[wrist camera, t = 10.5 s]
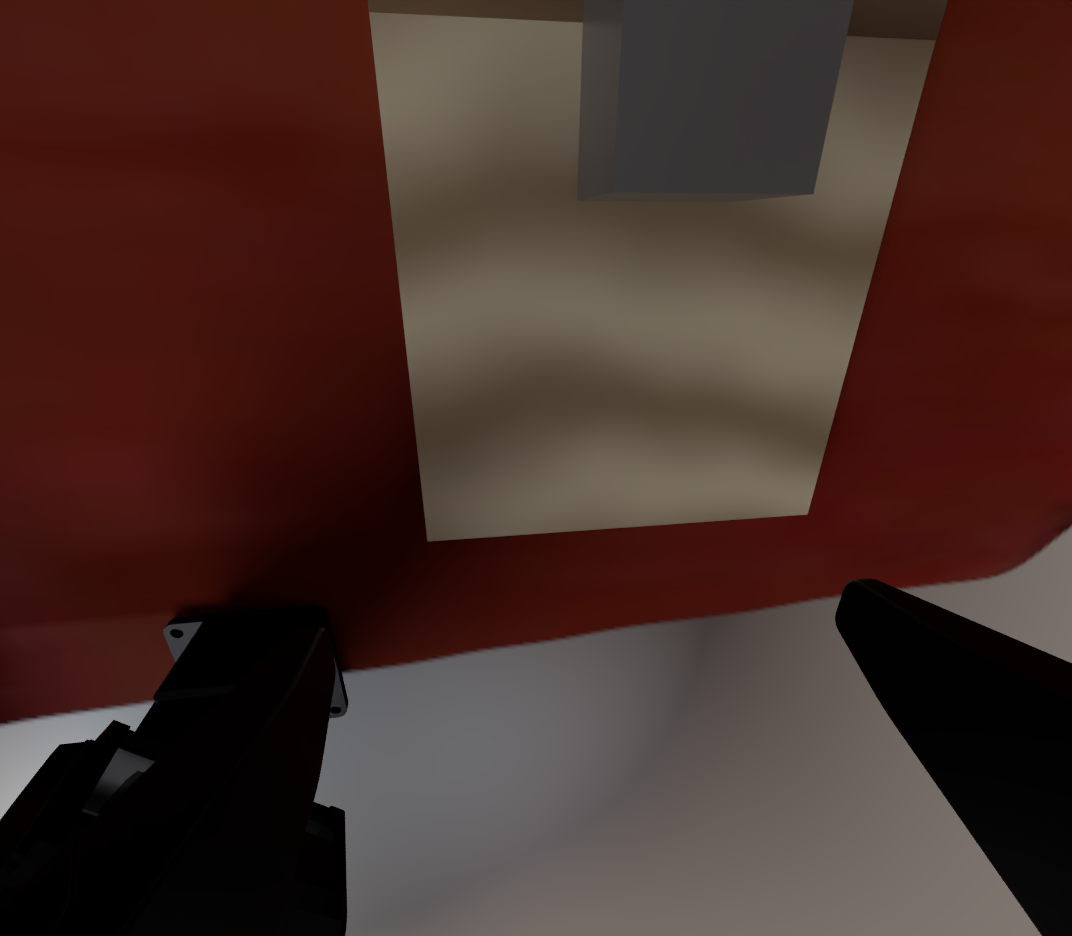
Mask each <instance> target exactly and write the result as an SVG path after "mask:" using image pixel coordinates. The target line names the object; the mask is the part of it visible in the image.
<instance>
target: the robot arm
mask: <svg viewBox="0 0 1072 936" xmlns="http://www.w3.org/2000/svg"><path fill="white" fill-rule="evenodd" d="M311 617H317V618H319V619H318V620H316V619H313V618H311ZM835 621H836V626H837V628H838V630H839V632H840V634H841V636H842V638H843V639H844V641H845V643H846V644H847V646H848V648H849V650H850V651H851V653H852V655H853V657H854V658H855V660H856V662H857V664H858V665H859V667H860V669H861V671H862V672H863V674H864V675H865V677H866V679H867V681H868V683H869V684H870V686H871V688H872V690H873V691H874V693H875V695H876V697H877V698H878V700H879V701H880V703H881V705H882V706H883V708H884V709H885V711H886V713H887V714H888V716H889V717H890V718H891V720H892V721H893V723H894V725H895V726H896V727H897V729H898V730H899V732H900V733H901V735H902V736H903V737H904V739H905V740H906V742H907V743H908V745H909V746H910V747H911V749H912V750H913V752H914V753H915V754H916V756H917V757H918V759H919V760H920V762H921V763H922V765H923V766H924V767H925V769H926V770H927V772H928V773H929V775H930V776H931V778H932V779H933V780H934V782H935V783H936V785H937V786H938V788H939V789H940V790H941V792H942V793H943V795H944V796H945V797H946V799H947V800H948V802H949V803H950V805H951V806H952V807H953V809H954V810H955V812H956V813H957V815H958V816H959V818H960V819H961V820H962V822H963V823H964V825H965V826H966V828H967V829H968V830H969V832H970V833H971V835H972V836H973V838H974V839H975V841H976V842H977V843H978V845H979V846H980V847H981V849H982V851H983V852H984V853H985V855H986V856H987V858H988V859H989V861H990V862H991V863H992V865H993V866H994V868H995V869H996V871H997V872H998V873H999V875H1000V876H1001V878H1002V879H1003V881H1004V882H1005V883H1006V885H1007V886H1008V888H1009V889H1010V891H1011V892H1012V894H1013V895H1014V896H1015V898H1016V899H1017V901H1018V902H1019V904H1020V905H1021V906H1022V908H1023V909H1024V911H1025V912H1026V913H1027V915H1028V916H1029V918H1030V919H1031V921H1032V922H1033V923H1034V925H1035V926H1036V928H1037V929H1038V931H1039V932H1040V934H1041V935H1042V936H1072V663H1069V662H1067V661H1065V660H1063V659H1060V658H1058V657H1056V656H1053V655H1051V654H1048V653H1046V652H1044V651H1041V650H1039V649H1037V648H1035V647H1032V646H1030V645H1028V644H1025V643H1023V642H1020V641H1018V640H1016V639H1013V638H1011V637H1009V636H1007V635H1004V634H1002V633H1000V632H997V631H995V630H992V629H990V628H988V627H985V626H983V625H981V624H978V623H976V622H974V621H971V620H969V619H967V618H964V617H962V616H960V615H957V614H955V613H953V612H950V611H948V610H946V609H943V608H941V607H939V606H936V605H934V604H932V603H929V602H927V601H925V600H922V599H920V598H918V597H915V596H913V595H910V594H908V593H906V592H904V591H901V590H899V589H897V588H894V587H892V586H890V585H887V584H885V583H883V582H880V581H878V580H875V579H857V580H851V581H849V582H848V583H847V584H846V585H845V587H844V590H843V593H842V596H841V599H840V602H839V605H838V608H837V611H836V615H835ZM177 629H179V630H181V631H179V630H177ZM163 632H164V636H165V639H166V641H167V643H168V646H169V648H170V651H171V653H172V655H173V658H174V660H175V662H176V663H175V664H174V666H173V667H172V669H171V670H170V672H169V673H168V675H167V676H166V678H165V679H164V681H163V682H162V684H161V685H160V687H159V688H158V690H157V691H156V693H155V694H154V697H153V699H154V701H155V702H154V703H153V705H152V707H151V708H150V710H149V711H148V713H147V714H146V716H145V718H144V719H143V720H142V722H141V723H140V725H139V727H138V728H137V730H136V731H135V732H134V731H132V730H129V729H130V726H128V725H126V724H123V723H120V722H118V721H115V720H113V721H112V722H111V724H110V725H109V726H108V727H107V728H106V729H105V730H104V731H103V732H102V734H101V735H100V736H99V737H98V738H97V739H96V740H95V741H94V740H86V741H85V742H79V743H71V744H61V745H59V746H58V747H57V748H56V749H55V751H54V752H53V753H52V754H51V755H50V756H49V758H48V759H47V760H46V762H45V763H44V764H43V765H42V767H41V768H40V769H39V771H38V772H37V773H36V774H35V776H34V777H33V778H32V779H31V781H30V782H29V783H28V785H27V786H26V787H25V788H24V790H23V791H22V792H21V794H20V795H19V796H18V797H17V799H16V800H15V801H14V803H13V804H12V805H11V806H10V808H9V809H8V811H7V812H6V813H5V814H4V816H3V817H2V818H1V820H0V936H345V932H346V922H347V893H346V891H347V890H346V848H345V847H346V844H345V811H344V810H341V809H339V808H336V807H334V806H330V807H326V806H323V805H321V804H318V803H315V802H313V801H314V798H315V794H316V790H317V786H318V781H319V777H320V771H321V766H322V760H323V754H324V747H325V741H326V735H327V728H328V722H329V718H336V717H341V716H343V715H344V714H345V713H346V712H347V708H348V698H347V694H346V689H345V685H344V681H343V676H342V672H341V668H340V663H339V659H338V654H337V650H336V646H335V641H334V637H333V633H332V628H331V624H330V619H329V615H328V613H327V611H326V610H325V609H324V608H322V607H319V606H310V607H298V608H287V609H275V610H263V611H251V612H239V613H227V614H215V615H203V616H191V617H180V618H174V619H172V620H171V621H170V622H169V623H168V624H167V626H166V627H165V629H164V631H163ZM335 706H337V707H335Z"/></svg>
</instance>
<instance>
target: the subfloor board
mask: <svg viewBox="0 0 1072 936" xmlns="http://www.w3.org/2000/svg"><path fill="white" fill-rule="evenodd" d="M583 2H584V0H368V8H369V15H370V24H371V33H372V42H373V51H374V61H375V70H376V79H377V88H378V97H379V106H380V115H381V124H382V133H383V142H384V151H385V160H386V170H387V179H388V188H389V197H390V206H391V215H392V224H393V233H394V242H395V251H396V260H397V269H398V278H399V288H400V297H401V306H402V315H403V324H404V333H405V342H406V351H407V360H408V369H409V378H410V387H411V397H412V406H413V415H414V424H415V433H416V442H417V451H418V460H419V469H420V478H421V487H422V496H423V506H424V515H425V524H426V533H427V542H428V541H442V540H456V539H470V538H484V537H498V536H512V535H526V534H540V533H554V532H568V531H582V530H596V529H610V528H624V527H638V526H652V525H666V524H680V523H694V522H708V521H722V520H736V519H750V518H764V517H778V516H792V515H806V514H808V511H809V507H810V503H811V500H812V496H813V492H814V489H815V485H816V481H817V477H818V474H819V470H820V466H821V463H822V459H823V455H824V452H825V448H826V444H827V441H828V437H829V433H830V429H831V426H832V422H833V418H834V415H835V411H836V407H837V404H838V400H839V396H840V392H841V389H842V385H843V381H844V378H845V374H846V370H847V367H848V363H849V359H850V356H851V352H852V348H853V344H854V341H855V337H856V333H857V330H858V326H859V322H860V319H861V315H862V311H863V307H864V304H865V300H866V296H867V293H868V289H869V285H870V282H871V278H872V274H873V271H874V267H875V263H876V259H877V256H878V252H879V248H880V245H881V241H882V237H883V234H884V230H885V226H886V222H887V219H888V215H889V211H890V208H891V204H892V200H893V197H894V193H895V189H896V185H897V182H898V178H899V174H900V171H901V167H902V163H903V160H904V156H905V152H906V149H907V145H908V141H909V137H910V134H911V130H912V126H913V123H914V119H915V115H916V112H917V108H918V104H919V100H920V97H921V93H922V89H923V86H924V82H925V78H926V75H927V71H928V67H929V64H930V60H931V56H932V52H933V49H934V45H935V41H936V40H937V39H938V35H939V31H940V28H941V24H942V20H943V17H944V13H945V9H946V6H947V2H948V0H854V4H853V8H852V13H851V18H850V23H849V27H848V32H847V37H846V42H845V46H844V51H843V56H842V61H841V66H840V70H839V75H838V80H837V85H836V89H835V94H834V99H833V104H832V108H831V113H830V118H829V123H828V128H827V132H826V137H825V142H824V147H823V151H822V156H821V161H820V166H819V170H818V175H817V180H816V185H815V189H814V194H809V195H799V196H788V197H777V198H767V199H756V200H746V201H735V202H720V201H580V200H577V191H578V159H579V128H580V96H581V65H582V33H583Z"/></svg>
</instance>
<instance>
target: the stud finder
mask: <svg viewBox="0 0 1072 936" xmlns="http://www.w3.org/2000/svg"><path fill="white" fill-rule="evenodd" d="M853 4H854V0H584V2H583V33H582V65H581V96H580V128H579V159H578V191H577V200H580V201H720V202H735V201H746V200H756V199H767V198H777V197H788V196H799V195H809V194H814V189H815V185H816V180H817V175H818V170H819V166H820V161H821V156H822V151H823V147H824V142H825V137H826V132H827V128H828V123H829V118H830V113H831V108H832V104H833V99H834V94H835V89H836V85H837V80H838V75H839V70H840V66H841V61H842V56H843V51H844V46H845V42H846V37H847V32H848V27H849V23H850V18H851V13H852V8H853Z"/></svg>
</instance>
